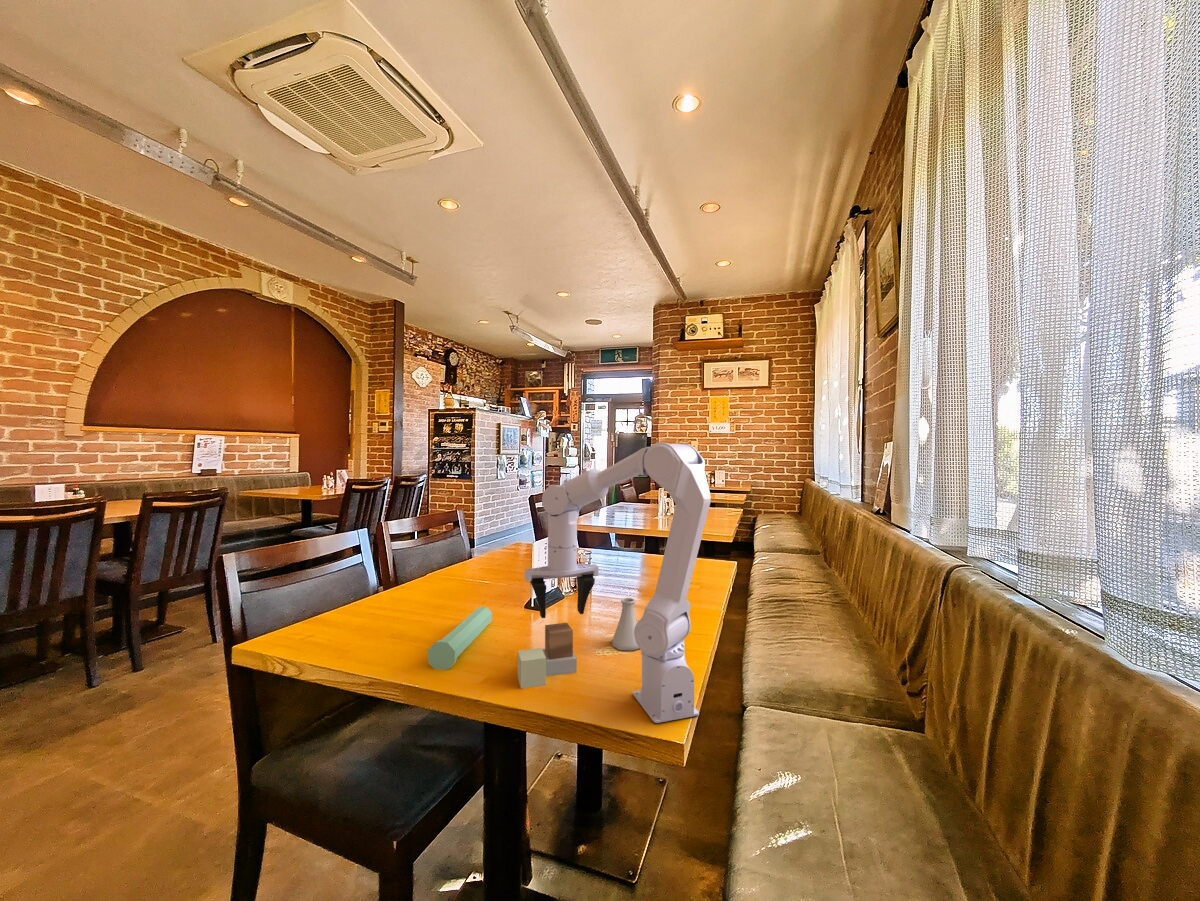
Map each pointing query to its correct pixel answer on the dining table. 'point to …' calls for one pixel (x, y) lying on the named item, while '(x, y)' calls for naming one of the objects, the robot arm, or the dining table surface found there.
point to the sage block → (531, 668)
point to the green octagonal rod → (458, 639)
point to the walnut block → (558, 640)
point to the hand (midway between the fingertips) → (561, 614)
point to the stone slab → (560, 665)
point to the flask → (626, 627)
